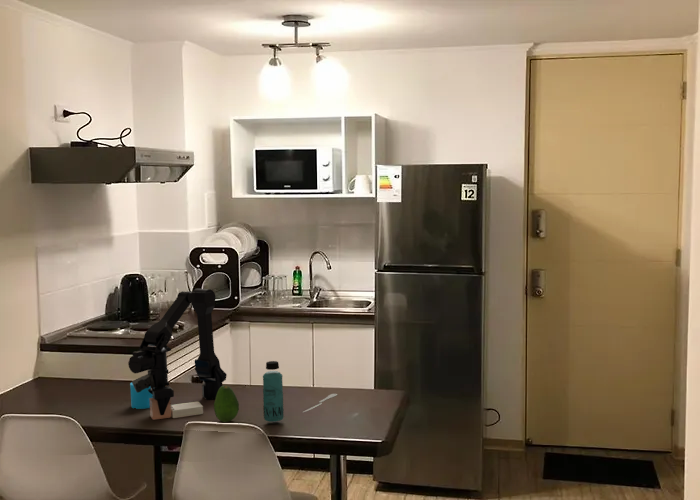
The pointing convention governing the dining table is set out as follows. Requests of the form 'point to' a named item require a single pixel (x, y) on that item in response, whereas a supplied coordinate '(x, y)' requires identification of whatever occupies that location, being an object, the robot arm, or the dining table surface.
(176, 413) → the slab
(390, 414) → the dining table surface
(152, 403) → the tan cube
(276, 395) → the beverage bottle
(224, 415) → the avocado
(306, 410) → the butter knife
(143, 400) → the mug
